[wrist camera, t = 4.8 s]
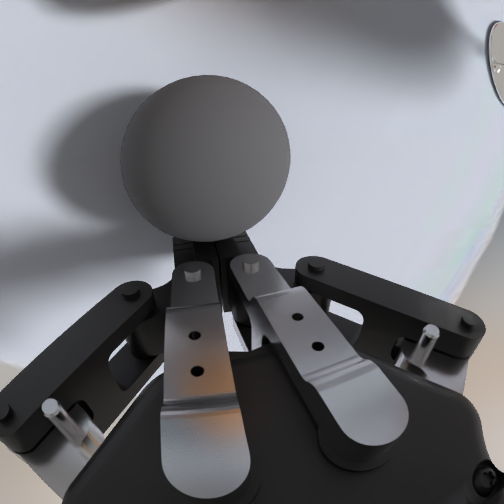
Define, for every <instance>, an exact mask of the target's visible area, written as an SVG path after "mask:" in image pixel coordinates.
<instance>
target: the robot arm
mask: <svg viewBox="0 0 504 504" xmlns="http://www.w3.org/2000/svg"><path fill="white" fill-rule="evenodd" d="M173 250H174V263H175V269H174V271H173V273H172V279H171V280H170V281H169V282H168V283H166V284H165V285H163V286H160V287H158V288H155V289H152V287H151V286H150V285H149V284H148V283H146V282H143V281H130V282H126V283H124V284H121V285H120V286H118V287H117V288H115V289H114V290H113V291H112V292H111V293H109V294H108V295H107V296H106V297H105V298H103V299H102V300H101V301H100V302H99V303H97V304H96V305H95V306H94V307H93V308H91V309H90V310H89V311H88V312H87V313H86V314H84V315H83V316H82V317H81V318H80V319H79V320H78V321H76V322H75V323H74V324H73V325H72V326H71V327H69V328H68V329H67V330H66V331H65V332H64V333H63V334H62V335H60V336H59V337H58V338H57V339H56V340H55V341H54V342H53V343H52V344H50V345H49V346H48V347H47V348H46V349H45V350H44V351H43V352H42V353H41V354H39V355H38V356H37V357H36V358H35V359H34V360H33V361H32V362H31V363H30V364H29V365H28V366H27V367H26V368H24V369H23V370H22V371H21V372H20V373H19V374H18V375H17V376H16V377H15V378H14V379H13V380H12V381H11V382H10V383H9V384H8V385H7V386H6V387H5V388H4V389H3V390H2V391H1V392H0V441H1V442H3V443H4V444H5V445H6V446H7V447H8V449H9V450H10V451H12V452H13V453H14V454H15V455H16V456H18V457H19V458H20V459H22V460H23V461H24V462H26V463H27V464H28V465H29V466H30V467H31V468H32V469H33V470H34V472H35V473H36V474H37V475H38V476H39V477H40V478H41V479H42V480H43V481H44V482H45V483H46V484H47V485H48V486H49V487H50V488H51V489H52V490H53V491H54V492H55V493H56V494H57V495H58V496H59V497H60V498H62V499H63V502H62V504H504V473H503V472H501V471H499V470H498V469H497V468H496V467H495V466H494V464H493V463H492V461H491V459H490V457H489V454H488V452H487V449H486V445H485V442H484V437H483V431H482V425H481V420H480V417H479V414H478V412H477V410H476V409H475V407H474V406H473V404H472V403H471V402H470V401H469V400H468V399H467V398H466V397H465V396H463V390H464V385H465V380H466V373H467V367H468V361H469V359H470V357H471V356H472V354H473V353H474V351H475V349H476V348H477V346H478V344H479V343H480V341H481V339H482V337H483V336H484V334H485V331H486V328H485V324H484V322H483V321H482V319H481V318H480V317H479V316H478V315H476V314H475V313H473V312H471V311H469V310H466V309H463V308H461V307H458V306H456V305H453V304H450V303H448V302H445V301H442V300H440V299H437V298H434V297H432V296H429V295H426V294H423V293H421V292H418V291H415V290H413V289H410V288H407V287H404V286H402V285H399V284H396V283H393V282H391V281H388V280H385V279H382V278H379V277H377V276H374V275H371V274H368V273H365V272H363V271H360V270H357V269H354V268H351V267H349V266H346V265H343V264H340V263H337V262H334V261H331V260H329V259H326V258H323V257H318V256H308V257H304V258H301V259H300V260H298V261H297V263H296V267H295V269H282V268H275V267H274V265H273V264H272V263H271V261H270V260H269V259H268V258H267V257H265V256H262V255H259V254H258V253H257V251H256V249H255V247H254V246H253V244H252V242H251V241H250V238H249V237H248V235H247V233H246V231H244V232H243V233H241V234H238V235H236V236H233V237H230V238H227V239H223V240H218V241H211V242H197V241H188V240H183V239H180V238H177V237H173ZM331 300H333V301H335V302H338V303H340V304H343V305H345V306H348V307H350V308H353V309H355V310H357V311H359V312H360V313H361V314H362V316H363V319H364V321H363V325H360V324H358V323H355V322H353V321H350V320H348V319H345V318H343V317H340V316H338V315H336V314H333V313H331V312H329V307H330V302H331ZM222 306H223V310H224V312H230V311H232V314H233V326H234V329H235V331H236V334H237V336H238V338H239V340H240V343H241V345H242V347H243V349H244V352H230V351H228V346H227V341H226V335H225V329H224V323H223V317H222ZM125 339H126V341H127V343H126V344H125V345H124V346H123V347H122V348H121V349H120V350H119V351H118V353H117V354H116V355H115V356H114V357H113V358H112V359H111V360H110V361H109V362H108V360H109V357H110V355H111V353H112V352H113V351H114V350H115V349H116V348H117V347H118V346H119V345H120V344H121V343H122V342H123V341H124V340H125ZM163 362H164V373H162V374H161V375H159V376H157V377H156V378H155V379H153V380H152V381H151V382H150V383H149V384H148V385H147V386H146V387H145V388H144V389H143V390H142V392H141V393H140V394H139V396H138V397H137V398H136V400H135V401H134V402H133V403H132V405H131V406H130V407H129V409H128V410H127V411H126V413H125V414H124V415H123V417H122V418H121V419H120V420H119V422H118V423H117V424H116V426H115V427H114V428H113V429H112V431H111V432H110V433H109V435H108V436H107V437H106V439H105V440H104V436H103V434H104V433H105V431H106V430H107V429H108V428H109V427H110V425H111V424H112V423H113V422H114V421H115V419H116V418H117V417H118V416H119V414H120V413H121V412H122V411H123V410H124V409H125V407H126V406H127V405H128V404H129V403H130V401H131V400H132V399H133V398H134V397H135V396H136V394H137V393H138V392H139V391H140V390H141V388H142V387H143V386H144V385H145V384H146V382H147V381H148V380H149V379H150V378H151V376H152V375H153V374H154V373H155V372H156V370H157V369H158V368H159V367H160V366H161V364H162V363H163Z"/></svg>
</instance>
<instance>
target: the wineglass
mask: <svg viewBox="0 0 504 504" xmlns="http://www.w3.org/2000/svg"><path fill="white" fill-rule="evenodd" d="M489 61H490V68H491V74H492V77H493V81H494V85H495V88H496V91H497V93H498V95H499V97H500V99H501V101H502V102H503V104H504V22H497V23H495V24H494V26H493V27H492V29H491V32H490V36H489Z"/></svg>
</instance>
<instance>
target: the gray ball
mask: <svg viewBox="0 0 504 504" xmlns="http://www.w3.org/2000/svg"><path fill="white" fill-rule="evenodd" d="M289 168H290V146H289V139H288V136H287V132H286V129H285V126H284V124H283V122H282V120H281V118H280V116H279V114H278V113H277V111H276V110H275V108H274V107H273V106H272V105H271V104H270V102H269V101H268V100H267V99H266V98H265V97H264V96H262V95H261V94H260V93H259V92H258V91H256V90H255V89H253V88H252V87H250V86H248V85H246V84H244V83H242V82H240V81H238V80H234V79H231V78H228V77H222V76H216V75H200V76H192V77H188V78H184V79H180V80H178V81H175V82H173V83H170V84H168V85H166V86H165V87H163V88H161V89H160V90H158V91H157V92H155V93H154V94H153V95H152V96H150V97H149V98H148V99H147V100H146V101H145V102H144V103H143V104H142V105H141V106H140V108H139V109H138V110H137V112H136V113H135V115H134V116H133V118H132V120H131V122H130V123H129V125H128V128H127V131H126V133H125V136H124V139H123V144H122V149H121V172H122V176H123V181H124V185H125V188H126V190H127V193H128V195H129V197H130V199H131V201H132V202H133V204H134V206H135V207H136V209H137V210H138V211H139V212H140V213H141V215H142V216H143V217H144V218H145V219H147V220H148V221H149V222H150V223H151V224H152V225H153V226H155V227H157V228H158V229H160V230H161V231H163V232H165V233H167V234H169V235H171V236H174V237H177V238H180V239H183V240H188V241H197V242H211V241H218V240H223V239H227V238H230V237H233V236H236V235H238V234H241V233H243V232H244V231H246V230H248V229H250V228H251V227H253V226H254V225H256V224H257V223H258V222H259V221H261V220H262V219H263V218H264V217H265V216H266V215H267V214H268V213H269V212H270V210H271V209H272V208H273V207H274V205H275V204H276V202H277V200H278V199H279V197H280V196H281V194H282V192H283V189H284V187H285V184H286V181H287V177H288V174H289Z"/></svg>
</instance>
